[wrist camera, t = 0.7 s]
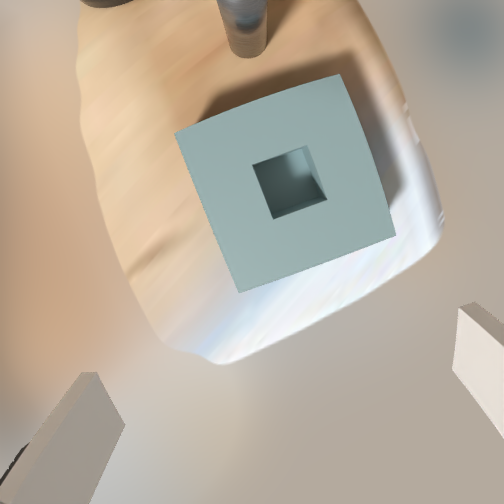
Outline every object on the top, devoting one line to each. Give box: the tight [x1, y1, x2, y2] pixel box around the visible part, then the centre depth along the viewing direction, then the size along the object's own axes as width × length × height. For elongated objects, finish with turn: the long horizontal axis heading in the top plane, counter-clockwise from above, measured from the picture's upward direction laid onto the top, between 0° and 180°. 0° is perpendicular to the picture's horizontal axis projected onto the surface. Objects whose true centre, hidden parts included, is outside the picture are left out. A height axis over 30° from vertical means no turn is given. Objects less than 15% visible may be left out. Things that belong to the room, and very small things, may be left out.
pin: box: [217, 0, 267, 58], centre depth 23 cm, size 4×4×14 cm
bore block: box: [174, 74, 396, 293], centre depth 31 cm, size 16×16×6 cm
